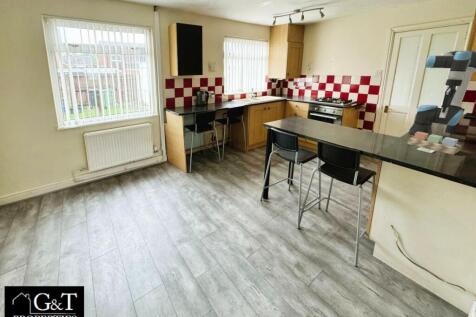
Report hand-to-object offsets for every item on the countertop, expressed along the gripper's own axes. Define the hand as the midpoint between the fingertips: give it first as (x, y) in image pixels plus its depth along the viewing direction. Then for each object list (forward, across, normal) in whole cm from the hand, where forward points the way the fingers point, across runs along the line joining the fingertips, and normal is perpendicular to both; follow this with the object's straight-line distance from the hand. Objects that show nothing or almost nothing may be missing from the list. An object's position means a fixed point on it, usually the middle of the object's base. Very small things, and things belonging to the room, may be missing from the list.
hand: (442, 117), depth 158 cm
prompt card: (+20, -12, 0) cm, 24 cm away
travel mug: (+20, +64, +6) cm, 68 cm away
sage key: (+17, 0, 0) cm, 17 cm away
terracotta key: (+17, 0, +8) cm, 19 cm away
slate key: (+17, 0, -8) cm, 19 cm away
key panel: (+20, 0, 0) cm, 20 cm away
